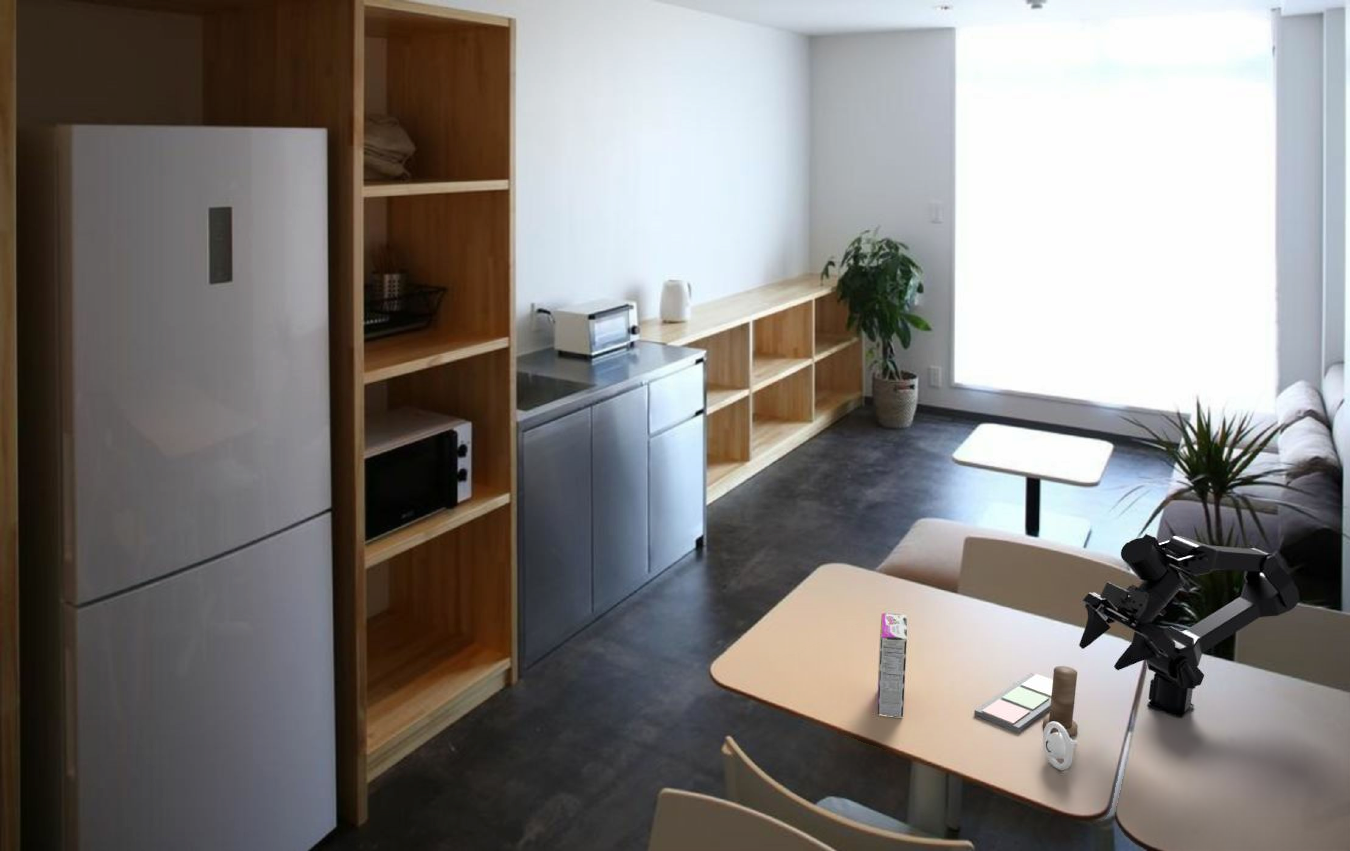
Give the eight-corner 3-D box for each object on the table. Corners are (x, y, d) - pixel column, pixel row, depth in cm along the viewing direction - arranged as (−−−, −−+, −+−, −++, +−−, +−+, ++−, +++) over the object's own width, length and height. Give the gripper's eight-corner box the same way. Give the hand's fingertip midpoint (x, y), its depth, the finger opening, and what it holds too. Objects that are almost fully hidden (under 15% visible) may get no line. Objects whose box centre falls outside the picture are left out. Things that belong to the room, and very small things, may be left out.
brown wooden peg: (1082, 728, 193) (1089, 671, 190) (1067, 740, 189) (1074, 681, 186) (1052, 716, 197) (1057, 660, 194) (1036, 727, 193) (1042, 670, 190)
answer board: (1073, 692, 206) (1074, 686, 206) (1018, 732, 191) (1019, 726, 191) (1030, 677, 212) (1031, 671, 212) (974, 714, 197) (974, 708, 197)
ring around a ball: (1033, 755, 183) (1037, 713, 182) (1062, 751, 185) (1066, 710, 183) (1059, 780, 176) (1063, 737, 174) (1089, 776, 177) (1094, 733, 175)
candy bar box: (876, 689, 207) (881, 611, 203) (902, 691, 206) (907, 614, 202) (876, 716, 196) (880, 635, 193) (903, 719, 195) (908, 638, 192)
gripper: (1095, 551, 198) (1041, 613, 197) (1170, 587, 181) (1111, 654, 180) (1124, 585, 202) (1072, 645, 202) (1200, 623, 185) (1143, 689, 184)
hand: (1097, 657), depth 192 cm, fingers open, 9 cm apart
